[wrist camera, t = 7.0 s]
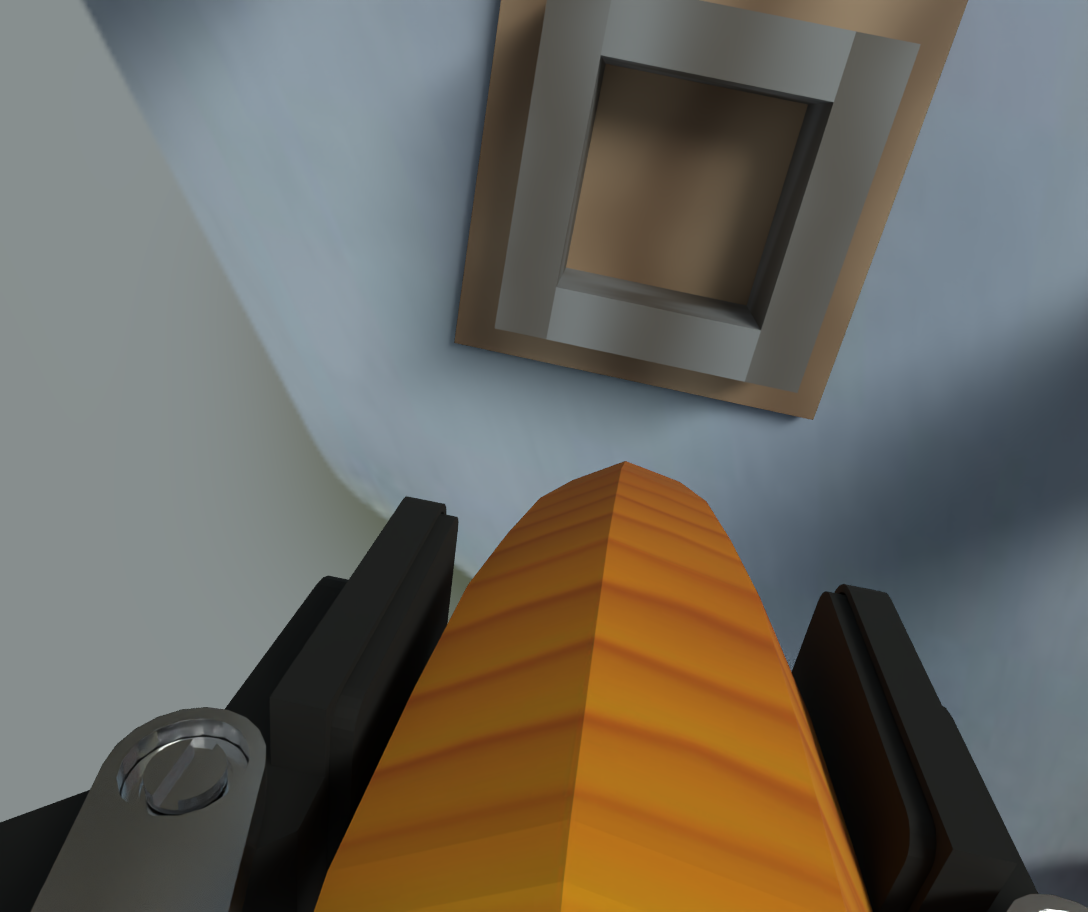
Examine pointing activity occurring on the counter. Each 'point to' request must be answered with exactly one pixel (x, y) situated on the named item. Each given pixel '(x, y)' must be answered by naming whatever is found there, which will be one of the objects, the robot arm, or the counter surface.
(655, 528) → the carrot
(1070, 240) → the counter surface
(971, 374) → the counter surface
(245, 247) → the counter surface
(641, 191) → the docking stand
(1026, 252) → the counter surface
